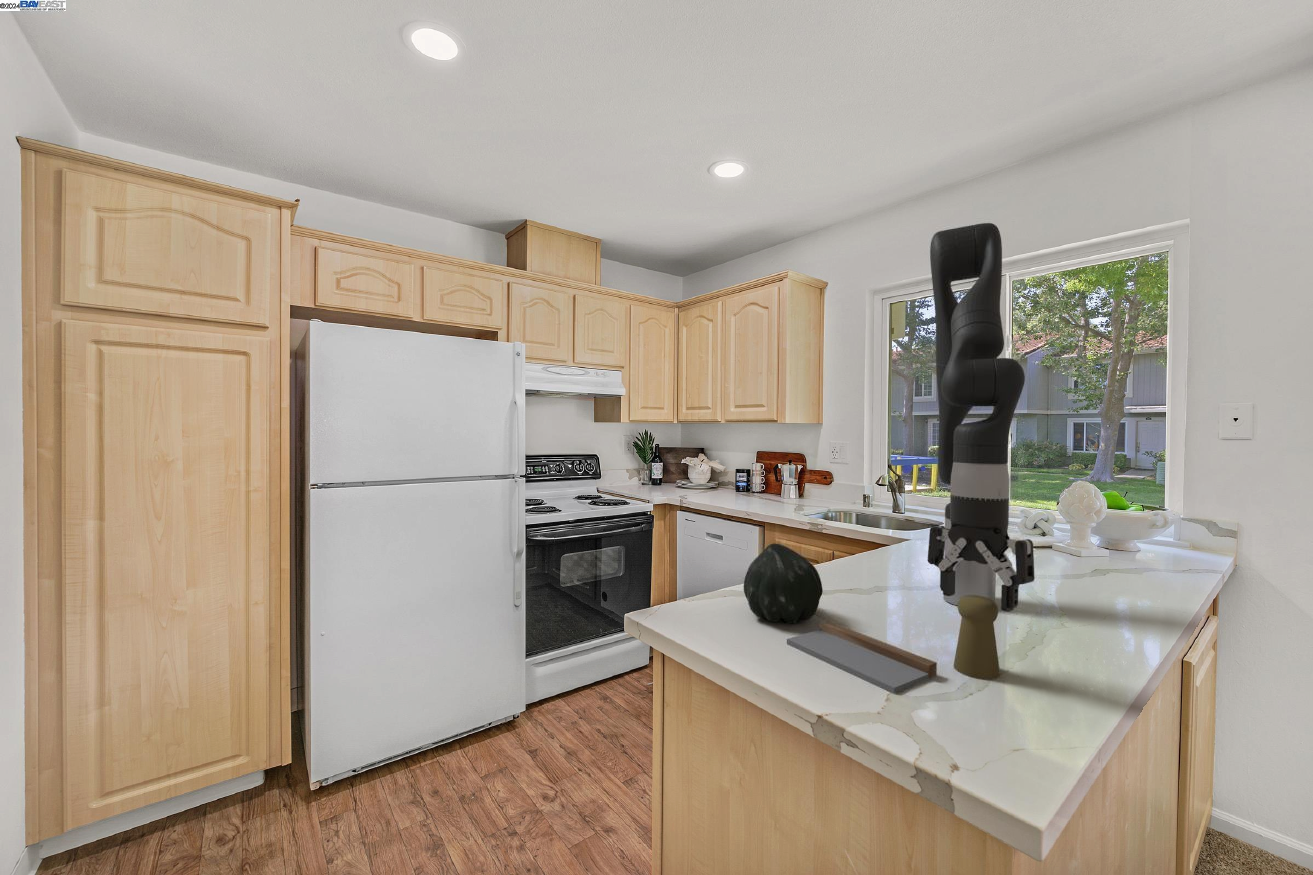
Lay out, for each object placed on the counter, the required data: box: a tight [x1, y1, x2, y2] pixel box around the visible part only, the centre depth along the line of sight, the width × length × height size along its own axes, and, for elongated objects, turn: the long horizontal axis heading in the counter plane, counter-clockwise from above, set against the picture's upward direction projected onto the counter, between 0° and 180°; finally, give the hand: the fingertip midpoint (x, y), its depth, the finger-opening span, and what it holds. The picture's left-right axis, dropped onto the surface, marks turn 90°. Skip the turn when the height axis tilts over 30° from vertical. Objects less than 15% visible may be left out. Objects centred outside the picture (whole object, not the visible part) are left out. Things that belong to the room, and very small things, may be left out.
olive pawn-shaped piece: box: [953, 595, 1001, 681], centre depth 82 cm, size 6×6×11 cm
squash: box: [743, 542, 824, 624], centre depth 105 cm, size 14×15×15 cm
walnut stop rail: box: [819, 620, 938, 680], centre depth 89 cm, size 2×20×2 cm, turn 32°
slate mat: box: [786, 629, 929, 694], centre depth 86 cm, size 8×20×1 cm, turn 32°
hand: (976, 602), depth 82 cm, fingers open, 8 cm apart
